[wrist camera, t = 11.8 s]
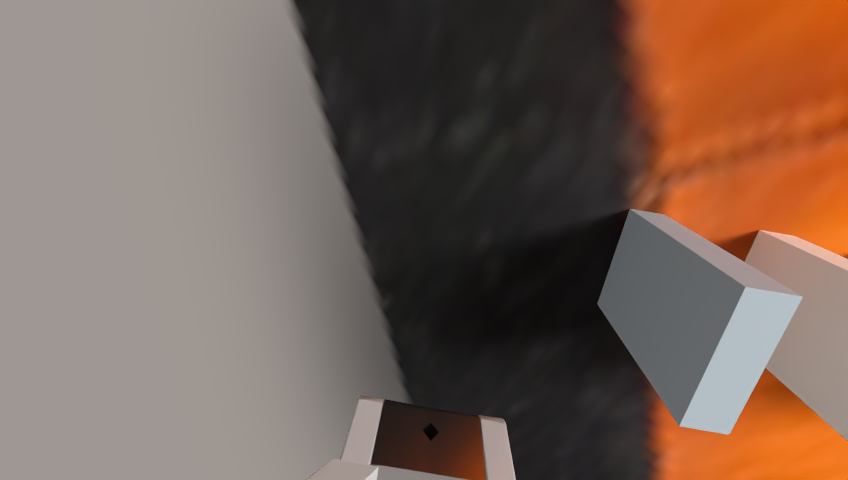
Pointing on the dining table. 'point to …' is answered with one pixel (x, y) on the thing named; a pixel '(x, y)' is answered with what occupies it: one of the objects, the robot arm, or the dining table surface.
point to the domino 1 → (693, 318)
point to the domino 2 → (810, 323)
